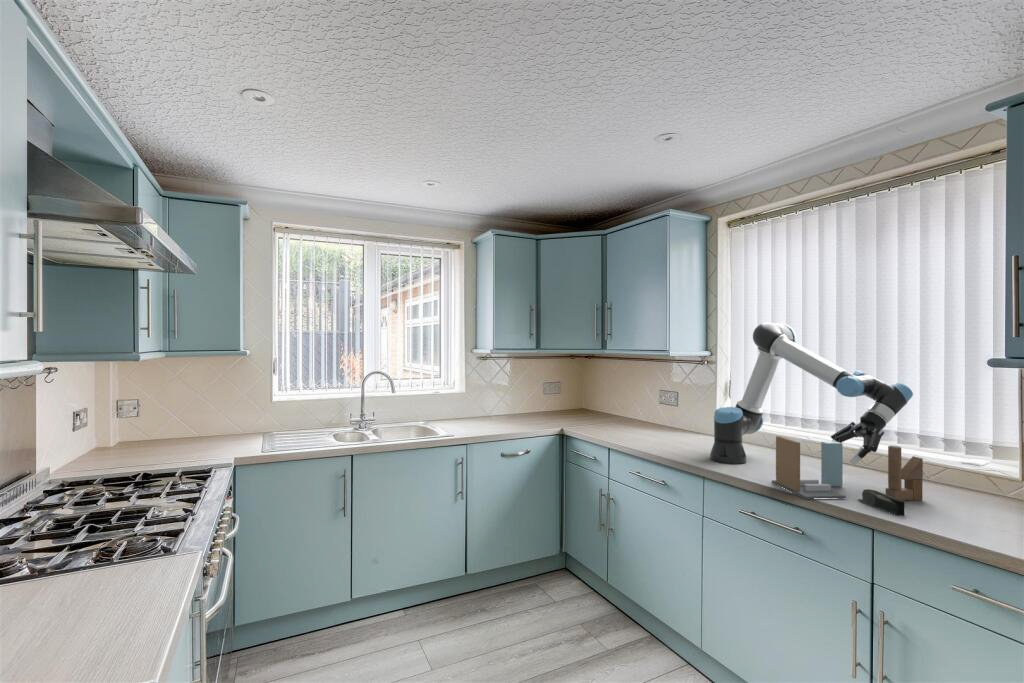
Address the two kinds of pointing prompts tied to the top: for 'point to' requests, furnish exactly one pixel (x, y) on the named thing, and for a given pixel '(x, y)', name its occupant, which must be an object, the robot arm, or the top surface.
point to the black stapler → (883, 501)
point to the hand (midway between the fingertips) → (838, 458)
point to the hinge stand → (797, 473)
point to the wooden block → (904, 476)
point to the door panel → (832, 463)
